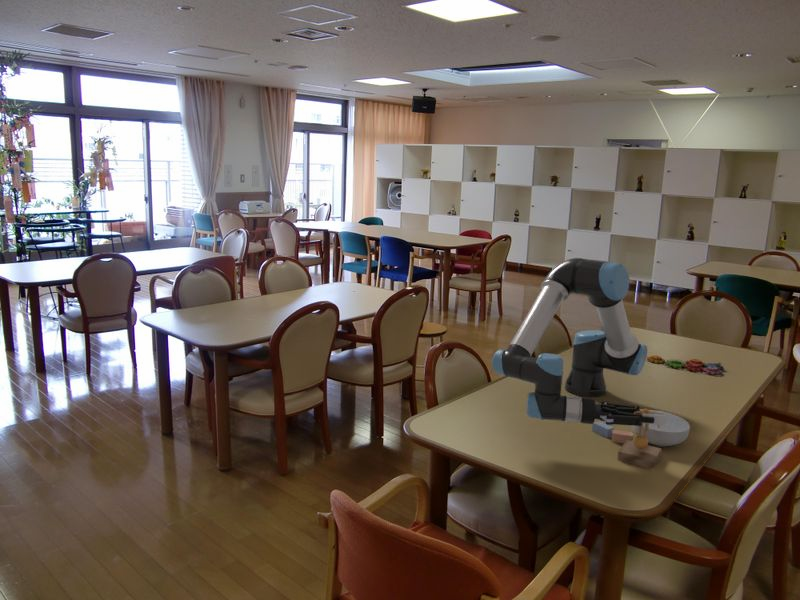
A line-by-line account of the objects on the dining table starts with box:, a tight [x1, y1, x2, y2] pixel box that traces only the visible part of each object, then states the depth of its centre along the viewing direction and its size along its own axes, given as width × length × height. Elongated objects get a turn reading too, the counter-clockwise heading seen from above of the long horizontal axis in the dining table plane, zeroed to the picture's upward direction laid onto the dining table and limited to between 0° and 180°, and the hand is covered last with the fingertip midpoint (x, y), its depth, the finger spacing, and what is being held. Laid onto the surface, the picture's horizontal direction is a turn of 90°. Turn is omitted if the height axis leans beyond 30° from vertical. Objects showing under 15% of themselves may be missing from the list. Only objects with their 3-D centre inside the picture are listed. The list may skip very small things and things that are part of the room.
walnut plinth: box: [617, 440, 663, 470], centre depth 185 cm, size 10×10×3 cm
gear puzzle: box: [646, 354, 725, 378], centre depth 277 cm, size 31×16×4 cm, turn 59°
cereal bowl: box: [630, 411, 691, 447], centre depth 196 cm, size 17×17×7 cm
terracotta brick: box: [611, 429, 634, 444], centre depth 196 cm, size 6×3×3 cm, turn 75°
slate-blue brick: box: [591, 420, 615, 439], centre depth 201 cm, size 6×3×3 cm, turn 32°
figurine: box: [633, 408, 659, 449], centre depth 182 cm, size 8×6×12 cm
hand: (664, 418), depth 181 cm, fingers closed on figurine, 2 cm apart
